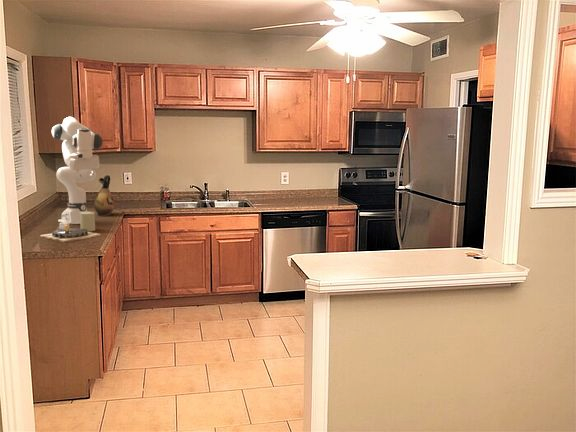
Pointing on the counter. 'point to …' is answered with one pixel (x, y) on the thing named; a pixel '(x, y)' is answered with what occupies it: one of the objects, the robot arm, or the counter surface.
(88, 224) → the can
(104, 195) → the ceramic jug
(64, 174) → the robot arm
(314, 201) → the counter surface
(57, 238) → the plate
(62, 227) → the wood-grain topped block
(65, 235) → the sprocket
